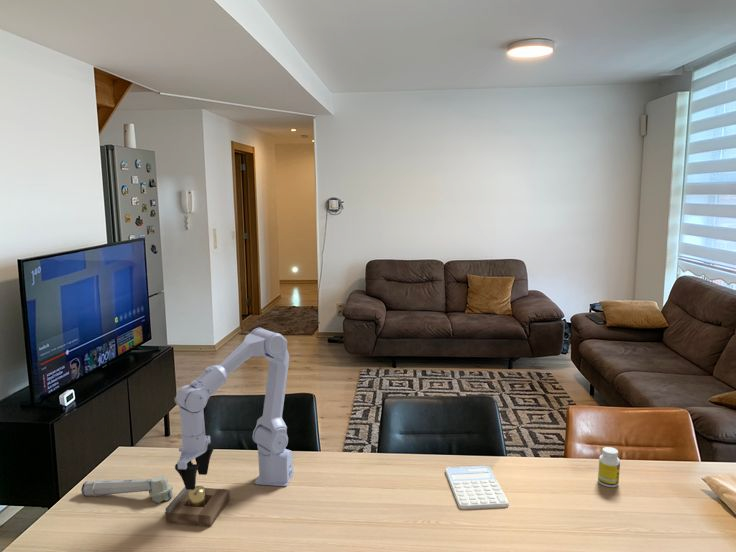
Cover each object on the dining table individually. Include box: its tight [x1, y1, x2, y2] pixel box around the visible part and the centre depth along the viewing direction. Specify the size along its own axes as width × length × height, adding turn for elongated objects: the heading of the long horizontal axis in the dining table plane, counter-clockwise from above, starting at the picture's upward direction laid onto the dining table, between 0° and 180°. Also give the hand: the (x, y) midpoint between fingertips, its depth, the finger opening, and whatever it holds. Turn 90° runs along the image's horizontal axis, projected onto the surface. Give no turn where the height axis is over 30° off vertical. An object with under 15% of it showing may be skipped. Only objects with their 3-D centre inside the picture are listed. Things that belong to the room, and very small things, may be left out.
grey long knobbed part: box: [80, 475, 174, 504], centre depth 151 cm, size 5×7×25 cm
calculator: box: [445, 465, 510, 510], centre depth 153 cm, size 13×20×2 cm, turn 3°
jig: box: [164, 486, 231, 527], centre depth 144 cm, size 12×12×4 cm
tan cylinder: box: [189, 485, 206, 507], centre depth 144 cm, size 4×4×6 cm
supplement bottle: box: [597, 446, 621, 488], centre depth 154 cm, size 5×5×10 cm
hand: (196, 481), depth 143 cm, fingers open, 7 cm apart
